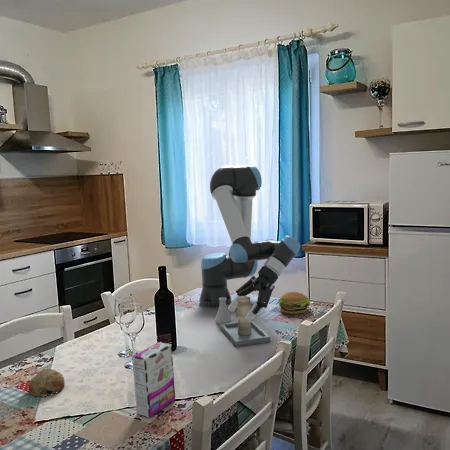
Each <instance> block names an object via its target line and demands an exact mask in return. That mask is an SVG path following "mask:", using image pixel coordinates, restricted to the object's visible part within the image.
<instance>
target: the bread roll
mask: <svg viewBox="0 0 450 450" xmlns="http://www.w3.org/2000/svg"><path fill="white" fill-rule="evenodd" d="M64 388H65V378H64V375H63V374H62V373H61V372H59V371H58V370H56V369H51V368H45V369H43V370H41V371H39V372H38V373H37V374H36V375H35V376H32V378H31V379H30V381H29V384H28V391H29V393H30V394H31V396H34V397H36V396H38V397H37V398H46V397H48V396H47V395H50V396H52V395H51V394H53V395H55V394H54V393H56V392H59V391H61V390H62V389H63V390H64ZM63 390H62V391H63ZM62 391H61V392H62ZM59 393H60V392H59ZM56 394H57V393H56ZM39 396H41V397H39ZM45 396H46V397H45Z"/></svg>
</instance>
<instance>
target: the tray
mask: <svg viewBox="0 0 450 450" xmlns="http://www.w3.org/2000/svg"><path fill="white" fill-rule="evenodd" d="M220 330H221V331H222V332H223V333H224V334H225V336H226V337H227V338H228V339H229V340H230V341H231V342H232V344H233V345H234V346H235V347H236V348H240V347H246V346H251V345H252V346H253V345H258V344H264V343H265V344H266V343H271V336H270V335H269V334H268V333H267V332H266V331H264V329H262V328H261V327H260V326H259V325H258V324H256V323H255V322H254V321H253V320H252V321H251V334H250V335H248V336H241V335H238V321H232V322H230V323H225V324H220Z"/></svg>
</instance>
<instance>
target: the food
mask: <svg viewBox="0 0 450 450" xmlns="http://www.w3.org/2000/svg"><path fill="white" fill-rule="evenodd" d="M277 300H278V305H279V307H280V311H281V312H282V313H284V314H290V315H291V314H292V315H297V314H304V313H305V312H307V311H308V307H309V306H310V298H309V296H306V295H305V294H303V293H302V292H298V291H289V292H285V293H284V294H282V295H281V297H280V298H278V299H277Z"/></svg>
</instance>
